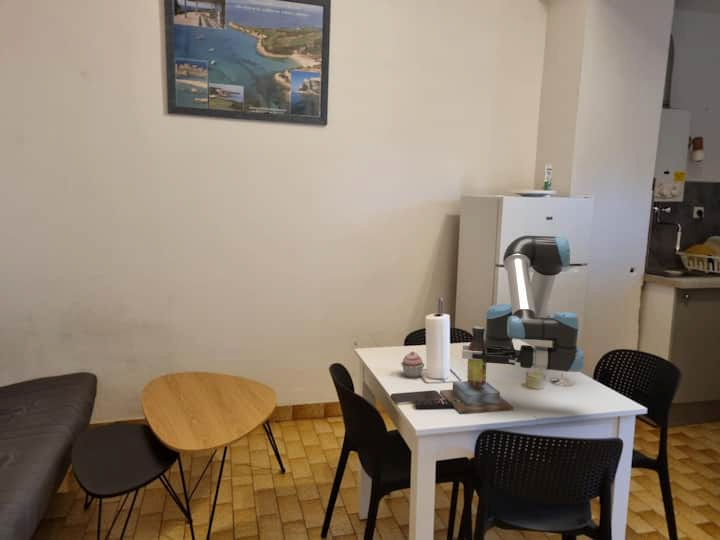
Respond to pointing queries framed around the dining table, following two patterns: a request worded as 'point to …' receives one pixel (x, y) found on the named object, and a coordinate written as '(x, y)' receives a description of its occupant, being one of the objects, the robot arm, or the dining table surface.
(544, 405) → the dining table surface
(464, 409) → the base
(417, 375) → the cupcake
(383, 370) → the dining table surface
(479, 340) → the sauce bottle
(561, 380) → the wineglass
